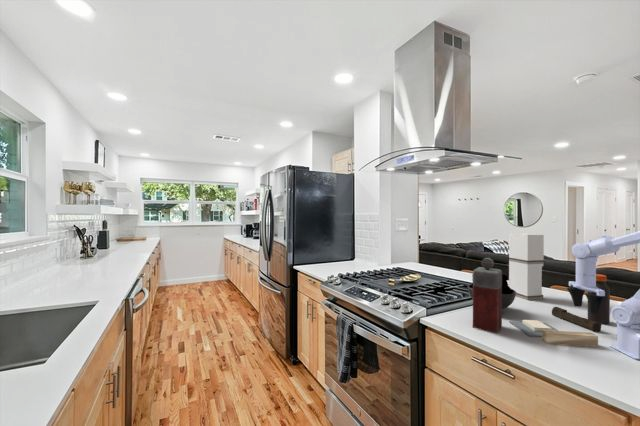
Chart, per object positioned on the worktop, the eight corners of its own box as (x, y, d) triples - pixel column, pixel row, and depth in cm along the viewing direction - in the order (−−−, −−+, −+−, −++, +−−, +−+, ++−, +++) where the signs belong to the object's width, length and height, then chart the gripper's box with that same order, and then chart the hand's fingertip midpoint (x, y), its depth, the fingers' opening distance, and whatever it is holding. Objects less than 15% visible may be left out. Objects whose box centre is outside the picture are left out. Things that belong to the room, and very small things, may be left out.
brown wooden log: (602, 332, 111) (602, 320, 111) (593, 332, 111) (593, 320, 111) (557, 315, 130) (557, 305, 130) (549, 315, 129) (549, 305, 130)
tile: (551, 328, 109) (538, 320, 117) (534, 327, 110) (522, 319, 118) (551, 332, 109) (538, 324, 117) (534, 331, 110) (522, 323, 118)
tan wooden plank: (598, 347, 98) (598, 336, 98) (546, 344, 101) (546, 332, 101) (591, 343, 101) (591, 332, 101) (541, 340, 104) (541, 329, 104)
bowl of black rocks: (521, 310, 136) (521, 270, 136) (508, 320, 122) (509, 276, 122) (476, 300, 151) (476, 265, 151) (460, 308, 137) (461, 269, 137)
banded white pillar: (543, 298, 154) (543, 234, 154) (527, 300, 152) (527, 234, 152) (524, 293, 165) (524, 233, 165) (509, 294, 163) (509, 233, 163)
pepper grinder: (502, 324, 117) (503, 257, 118) (498, 333, 109) (498, 260, 109) (478, 319, 123) (478, 255, 123) (472, 327, 115) (472, 258, 115)
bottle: (614, 325, 118) (614, 277, 118) (595, 323, 119) (595, 276, 119) (601, 319, 124) (601, 273, 125) (583, 317, 126) (583, 273, 126)
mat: (570, 338, 105) (570, 337, 105) (529, 336, 106) (529, 334, 106) (545, 324, 118) (545, 322, 118) (509, 322, 120) (509, 320, 120)
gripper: (560, 270, 117) (560, 303, 117) (589, 278, 102) (589, 315, 102) (579, 270, 116) (579, 303, 116) (611, 278, 101) (611, 316, 101)
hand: (585, 309), depth 109 cm, fingers open, 7 cm apart
